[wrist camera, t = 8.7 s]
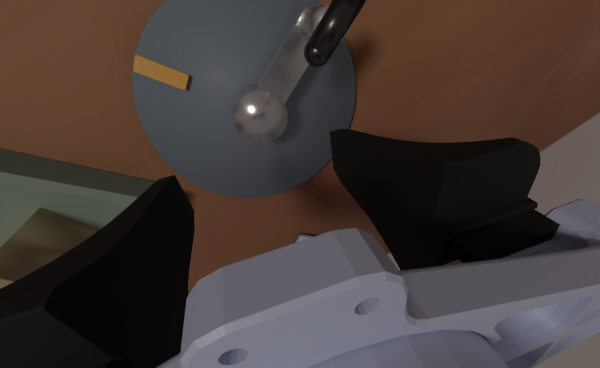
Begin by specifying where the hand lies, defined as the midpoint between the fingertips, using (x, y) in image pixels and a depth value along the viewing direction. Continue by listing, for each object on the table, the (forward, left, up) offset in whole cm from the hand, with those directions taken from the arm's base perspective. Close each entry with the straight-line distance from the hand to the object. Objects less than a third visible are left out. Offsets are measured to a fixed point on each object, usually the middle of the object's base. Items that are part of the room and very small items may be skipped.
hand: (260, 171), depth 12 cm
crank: (-1, -4, -8) cm, 9 cm away
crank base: (-1, -1, -9) cm, 9 cm away
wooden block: (+10, +14, -9) cm, 20 cm away
